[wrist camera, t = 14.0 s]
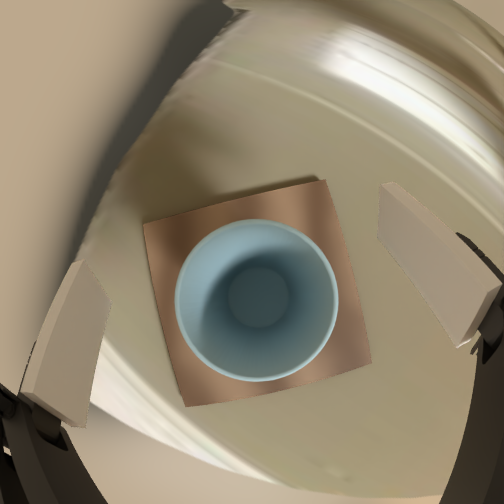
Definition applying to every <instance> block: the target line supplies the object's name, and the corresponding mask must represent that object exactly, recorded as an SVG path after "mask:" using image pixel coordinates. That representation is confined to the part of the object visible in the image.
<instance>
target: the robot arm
mask: <svg viewBox="0 0 504 504" xmlns="http://www.w3.org/2000/svg"><path fill="white" fill-rule="evenodd" d="M377 238H378V239H379V240H380V242H381V243H382V244H383V245H384V247H385V248H386V249H387V250H388V252H389V253H390V254H391V255H392V257H393V258H394V259H395V260H396V262H397V263H398V264H399V266H400V267H401V268H402V270H403V271H404V272H405V274H406V275H407V276H408V278H409V279H410V280H411V282H412V283H413V284H414V286H415V287H416V288H417V290H418V291H419V293H420V294H421V295H422V297H423V298H424V300H425V301H426V303H427V304H428V305H429V307H430V308H431V310H432V311H433V313H434V314H435V316H436V317H437V319H438V320H439V322H440V323H441V325H442V327H443V328H444V330H445V331H446V333H447V334H448V336H449V338H450V339H451V341H452V342H453V344H454V346H455V347H456V348H458V347H460V346H461V345H463V344H465V343H467V342H468V341H470V340H471V339H472V338H473V336H474V334H475V333H476V331H477V329H478V330H479V332H480V333H481V336H480V337H479V339H478V341H477V342H476V343H475V345H474V346H473V348H472V350H471V353H470V354H472V355H473V353H474V352H475V351H476V349H477V348H478V352H477V354H476V355H477V365H476V373H475V381H474V388H473V394H472V399H471V405H470V410H469V415H468V419H467V423H466V427H465V431H464V435H463V439H462V443H461V446H460V449H459V453H458V456H457V459H456V462H455V465H454V468H453V471H452V473H451V476H450V479H449V481H448V484H447V486H446V489H445V491H444V494H443V496H442V498H441V501H440V503H439V504H504V275H503V273H502V272H501V271H500V270H499V269H498V268H497V267H496V266H495V265H494V264H493V262H492V261H491V260H490V259H489V258H488V257H487V256H486V257H485V254H484V253H483V252H482V251H481V250H480V249H478V247H477V246H476V245H475V244H474V243H473V242H472V241H471V240H470V239H469V238H467V237H465V236H463V235H462V234H460V233H458V232H457V233H454V232H453V231H452V230H451V229H450V228H449V227H448V226H447V225H445V224H444V223H443V222H442V221H441V220H440V219H439V218H438V217H437V216H435V215H434V214H433V213H432V212H431V211H430V210H429V209H427V208H426V207H425V206H424V205H423V204H421V203H420V202H419V201H418V200H417V199H415V198H414V197H413V196H412V195H410V194H409V193H408V192H407V191H405V190H404V189H403V188H402V187H400V186H399V185H398V184H396V183H395V182H389V183H384V184H380V186H379V214H378V230H377ZM111 305H112V301H111V299H110V298H109V296H108V295H107V293H106V292H105V291H104V289H103V288H102V286H101V285H100V283H99V282H98V280H97V279H96V277H95V276H94V274H93V272H92V271H91V269H90V268H89V266H88V265H87V263H86V261H85V260H84V259H83V260H80V261H77V262H74V263H72V264H71V266H70V268H69V270H68V272H67V274H66V276H65V278H64V280H63V282H62V284H61V286H60V288H59V290H58V292H57V294H56V296H55V298H54V301H53V303H52V305H51V307H50V309H49V312H48V314H47V316H46V319H45V321H44V323H43V326H42V328H41V331H40V333H39V336H38V338H37V340H36V342H35V343H34V346H33V348H32V351H31V356H30V357H29V360H28V364H27V366H26V369H25V372H24V375H23V378H22V382H21V385H20V389H19V392H18V395H17V396H16V395H15V394H13V393H12V392H11V391H9V390H8V389H7V388H6V387H4V386H3V385H2V384H1V383H0V504H108V503H107V502H106V500H105V499H104V497H103V496H102V494H101V493H100V491H99V490H98V488H97V486H96V485H95V483H94V482H93V480H92V478H91V477H90V475H89V473H88V472H87V470H86V468H85V467H84V465H83V463H82V461H81V459H80V458H79V456H78V454H77V452H76V450H75V448H74V446H73V444H72V442H71V440H70V438H69V436H68V434H67V431H66V430H65V429H64V428H63V427H62V426H61V421H63V422H65V423H66V424H68V425H70V426H71V427H80V428H86V420H87V414H88V407H89V401H90V395H91V389H92V384H93V379H94V373H95V369H96V364H97V359H98V355H99V350H100V346H101V342H102V338H103V334H104V330H105V326H106V323H107V319H108V315H109V312H110V308H111ZM3 446H5V447H6V448H8V449H10V452H11V455H12V456H10V455H8V454H7V453H5V452H4V448H3Z"/></svg>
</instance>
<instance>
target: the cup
mask: <svg viewBox="0 0 504 504" xmlns="http://www.w3.org/2000/svg"><path fill="white" fill-rule="evenodd" d="M174 302H175V313H176V318H177V322H178V325H179V328H180V331H181V333H182V335H183V338H184V339H185V341H186V343H187V344H188V346H189V347H190V349H191V350H192V351H193V352H194V353H195V355H196V356H197V357H198V358H199V359H200V360H201V361H202V362H204V363H205V364H206V365H207V366H209V367H210V368H212V369H213V370H215V371H217V372H219V373H221V374H223V375H225V376H228V377H231V378H234V379H238V380H243V381H252V382H259V381H270V380H275V379H279V378H282V377H285V376H287V375H290V374H292V373H294V372H296V371H298V370H299V369H301V368H303V367H304V366H305V365H307V364H308V363H309V362H310V361H311V360H313V359H314V358H315V357H316V356H317V354H318V353H319V352H320V351H321V350H322V348H323V347H324V346H325V344H326V342H327V341H328V339H329V337H330V335H331V333H332V330H333V328H334V325H335V322H336V317H337V312H338V288H337V283H336V279H335V275H334V272H333V270H332V268H331V265H330V263H329V261H328V260H327V258H326V256H325V255H324V254H323V252H322V251H321V250H320V248H319V247H318V246H317V245H316V244H315V243H314V242H313V241H312V240H311V239H310V238H309V237H307V236H306V235H305V234H303V233H302V232H300V231H298V230H297V229H295V228H293V227H291V226H289V225H286V224H283V223H281V222H277V221H272V220H266V219H247V220H240V221H236V222H232V223H230V224H227V225H224V226H222V227H220V228H218V229H216V230H215V231H213V232H211V233H210V234H208V235H207V236H206V237H204V238H203V239H202V240H201V241H200V242H199V243H198V244H197V245H196V246H195V247H194V248H193V249H192V251H191V252H190V254H189V255H188V256H187V258H186V260H185V261H184V263H183V265H182V268H181V270H180V272H179V275H178V279H177V283H176V288H175V299H174Z"/></svg>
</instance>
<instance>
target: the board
mask: <svg viewBox="0 0 504 504" xmlns="http://www.w3.org/2000/svg"><path fill="white" fill-rule="evenodd" d="M247 219H266V220H272V221H277V222H281V223H283V224H286V225H289V226H291V227H293V228H295V229H297V230H298V231H300V232H302V233H303V234H305V235H306V236H307V237H309V238H310V239H311V240H312V241H313V242H314V243H315V244H316V245H317V246H318V247H319V248H320V250H321V251H322V252H323V254H324V255H325V256H326V258H327V260H328V261H329V263H330V265H331V268H332V270H333V272H334V275H335V279H336V283H337V288H338V312H337V317H336V322H335V325H334V328H333V330H332V333H331V335H330V337H329V339H328V341H327V342H326V344H325V346H324V347H323V348H322V350H321V351H320V352H319V353H318V354H317V356H316V357H315V358H314V359H313V360H311V361H310V362H309V363H308V364H307V365H305V366H304V367H303V368H301V369H299V370H298V371H296V372H294V373H292V374H290V375H287V376H285V377H282V378H279V379H275V380H270V381H259V382H252V381H243V380H238V379H234V378H231V377H228V376H225V375H223V374H221V373H219V372H217V371H215V370H213V369H212V368H210V367H209V366H207V365H206V364H205V363H204V362H202V361H201V360H200V359H199V358H198V357H197V356H196V355H195V353H194V352H193V351H192V350H191V349H190V347H189V346H188V344H187V343H186V341H185V339H184V338H183V335H182V333H181V331H180V328H179V325H178V322H177V318H176V313H175V302H174V299H175V288H176V283H177V279H178V275H179V272H180V270H181V268H182V265H183V263H184V261H185V260H186V258H187V256H188V255H189V254H190V252H191V251H192V249H193V248H194V247H195V246H196V245H197V244H198V243H199V242H200V241H201V240H202V239H203V238H204V237H206V236H207V235H208V234H210V233H211V232H213V231H215V230H216V229H218V228H220V227H222V226H224V225H227V224H230V223H232V222H236V221H240V220H247ZM143 229H144V235H145V242H146V248H147V254H148V260H149V266H150V271H151V276H152V282H153V287H154V291H155V296H156V301H157V306H158V310H159V314H160V319H161V323H162V327H163V331H164V335H165V339H166V343H167V347H168V350H169V354H170V358H171V361H172V365H173V368H174V372H175V375H176V379H177V382H178V385H179V388H180V391H181V395H182V398H183V401H184V404H185V407H191V406H199V405H207V404H214V403H220V402H227V401H233V400H238V399H244V398H249V397H254V396H259V395H264V394H268V393H273V392H277V391H281V390H285V389H289V388H293V387H297V386H301V385H305V384H308V383H312V382H315V381H319V380H322V379H326V378H329V377H332V376H335V375H338V374H342V373H345V372H348V371H351V370H353V369H356V368H359V367H362V366H365V365H368V364H370V363H372V361H371V355H370V349H369V344H368V338H367V333H366V328H365V323H364V318H363V313H362V309H361V304H360V300H359V295H358V291H357V287H356V283H355V279H354V275H353V271H352V267H351V263H350V259H349V255H348V252H347V248H346V245H345V241H344V237H343V234H342V231H341V227H340V224H339V220H338V217H337V214H336V211H335V208H334V204H333V201H332V198H331V195H330V192H329V189H328V186H327V183H326V180H319V181H314V182H309V183H305V184H300V185H295V186H290V187H286V188H281V189H277V190H272V191H268V192H263V193H259V194H255V195H251V196H246V197H242V198H238V199H234V200H230V201H226V202H222V203H218V204H214V205H210V206H207V207H203V208H199V209H195V210H192V211H188V212H184V213H181V214H177V215H174V216H170V217H166V218H163V219H160V220H156V221H153V222H149V223H146V224H143Z"/></svg>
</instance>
